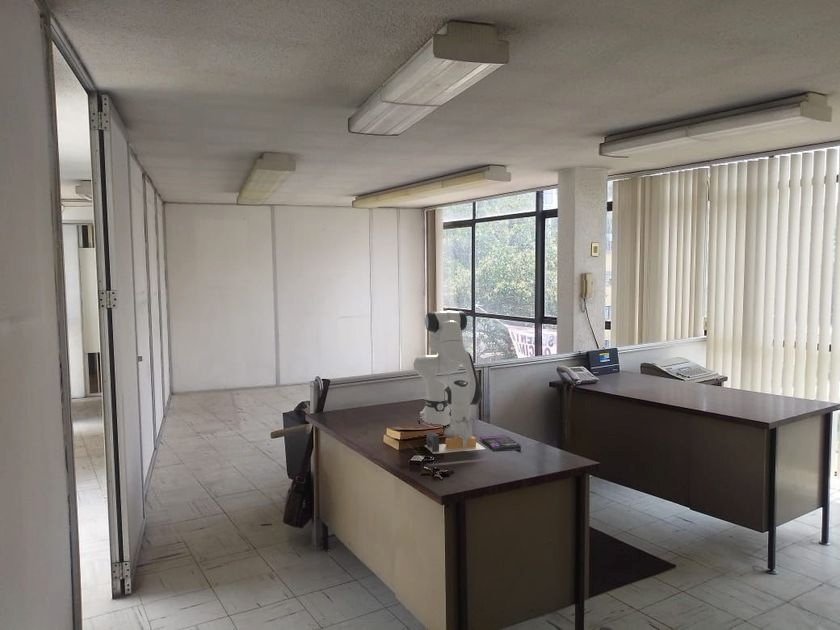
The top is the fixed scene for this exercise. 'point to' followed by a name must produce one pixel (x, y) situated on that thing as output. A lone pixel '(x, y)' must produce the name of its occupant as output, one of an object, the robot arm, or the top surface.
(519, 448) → the box
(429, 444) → the dark grey block
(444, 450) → the base plate
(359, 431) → the top surface
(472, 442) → the orange foam brick
